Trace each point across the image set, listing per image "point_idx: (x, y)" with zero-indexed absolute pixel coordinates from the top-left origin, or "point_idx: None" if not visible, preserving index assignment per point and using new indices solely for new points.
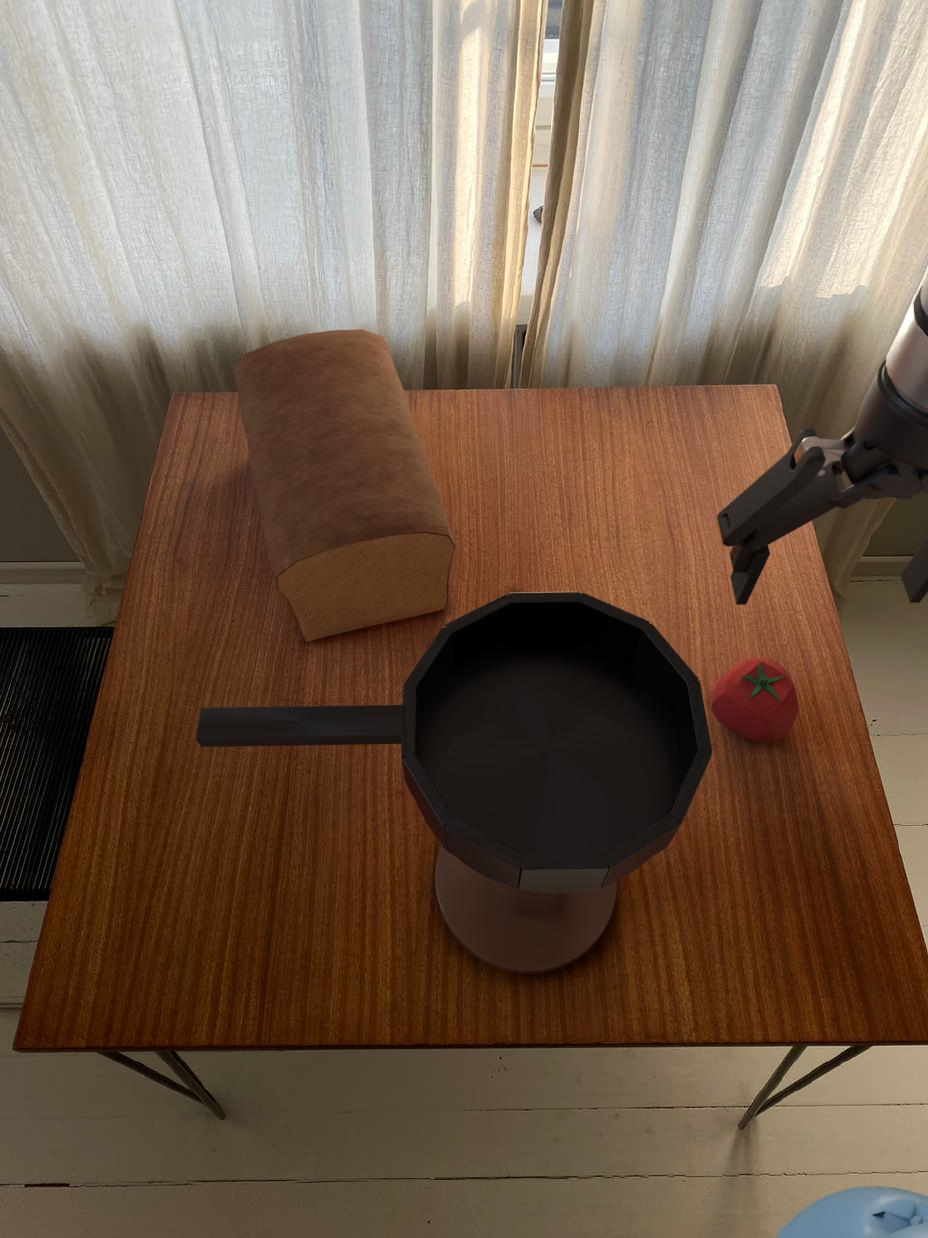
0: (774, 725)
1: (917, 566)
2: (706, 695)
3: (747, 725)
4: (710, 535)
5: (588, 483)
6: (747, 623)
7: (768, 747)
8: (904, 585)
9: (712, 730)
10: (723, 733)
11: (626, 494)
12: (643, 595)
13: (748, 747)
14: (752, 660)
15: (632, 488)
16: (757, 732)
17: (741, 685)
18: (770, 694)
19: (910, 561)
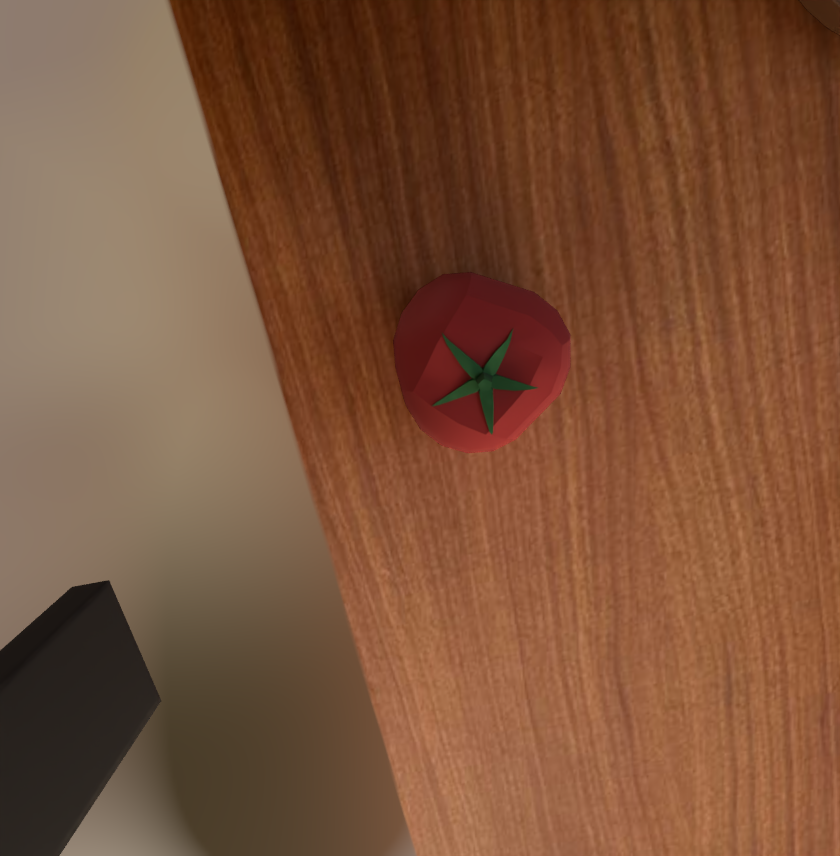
0: (448, 289)
1: (54, 769)
2: None
3: (500, 286)
4: (549, 709)
5: (783, 785)
6: (478, 544)
7: None
8: (138, 657)
9: None
10: None
11: (709, 771)
12: (679, 571)
13: None
14: (502, 436)
15: (697, 784)
16: (477, 277)
17: (531, 364)
18: (466, 352)
19: (103, 781)
